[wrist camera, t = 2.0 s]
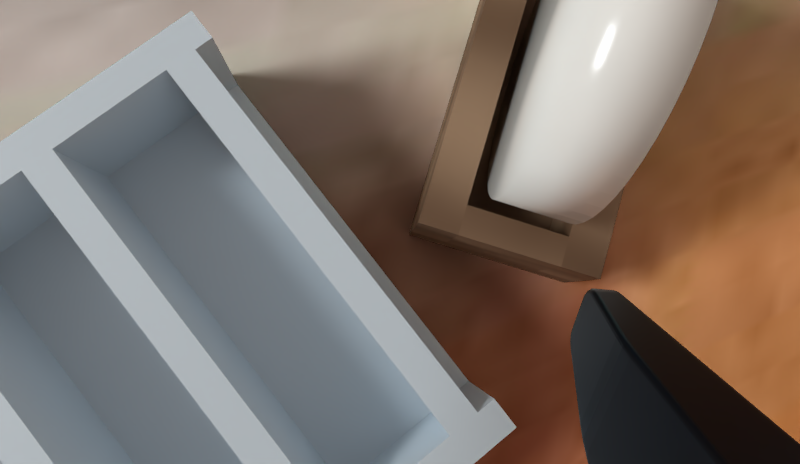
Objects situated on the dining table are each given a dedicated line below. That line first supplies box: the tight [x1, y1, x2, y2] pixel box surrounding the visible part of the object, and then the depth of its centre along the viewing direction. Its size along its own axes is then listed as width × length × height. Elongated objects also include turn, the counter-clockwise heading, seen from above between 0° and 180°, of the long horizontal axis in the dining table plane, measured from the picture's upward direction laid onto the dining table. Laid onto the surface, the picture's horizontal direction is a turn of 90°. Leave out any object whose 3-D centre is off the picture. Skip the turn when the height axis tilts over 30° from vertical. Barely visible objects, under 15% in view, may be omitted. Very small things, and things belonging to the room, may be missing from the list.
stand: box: [409, 0, 624, 282], centre depth 23 cm, size 13×6×4 cm, turn 163°
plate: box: [487, 0, 718, 224], centre depth 18 cm, size 2×10×10 cm, turn 163°
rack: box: [0, 11, 517, 464], centre depth 20 cm, size 15×17×5 cm
